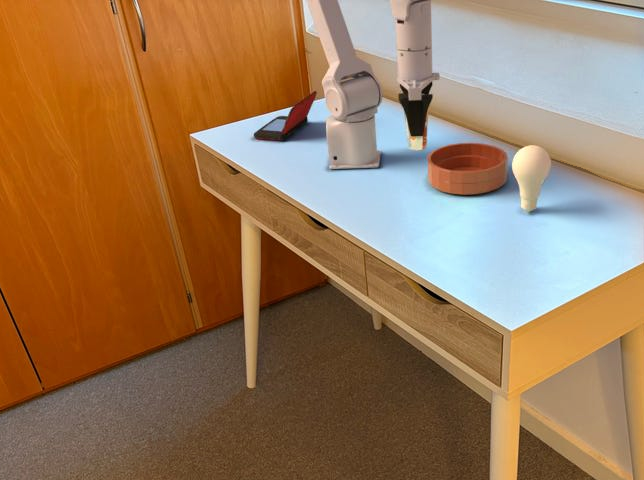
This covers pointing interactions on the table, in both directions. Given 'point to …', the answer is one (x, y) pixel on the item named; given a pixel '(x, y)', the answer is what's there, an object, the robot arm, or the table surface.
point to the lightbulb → (530, 173)
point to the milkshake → (417, 137)
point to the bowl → (467, 168)
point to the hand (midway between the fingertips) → (417, 130)
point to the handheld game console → (287, 121)
